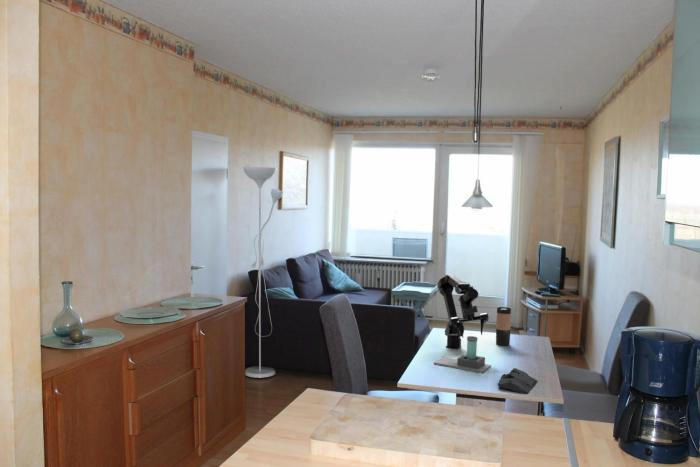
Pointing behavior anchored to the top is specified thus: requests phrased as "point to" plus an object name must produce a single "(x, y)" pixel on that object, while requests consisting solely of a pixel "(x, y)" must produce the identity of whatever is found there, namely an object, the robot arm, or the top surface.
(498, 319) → the travel mug
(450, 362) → the holder board
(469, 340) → the teal cylinder
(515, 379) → the dark slate chunk
